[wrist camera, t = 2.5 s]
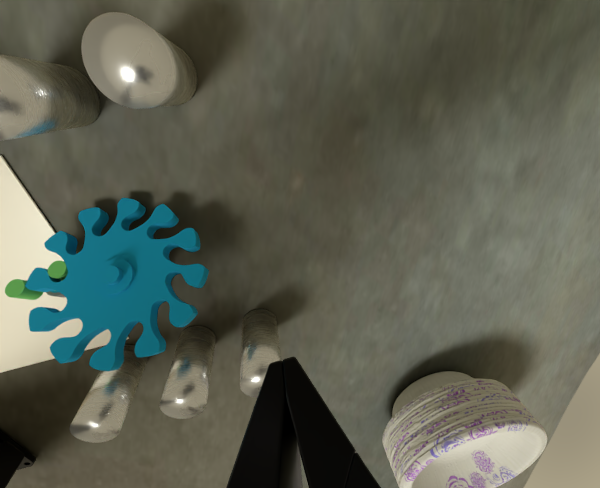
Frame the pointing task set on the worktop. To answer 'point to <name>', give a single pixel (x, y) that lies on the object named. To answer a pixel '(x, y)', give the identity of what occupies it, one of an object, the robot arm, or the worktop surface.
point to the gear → (113, 283)
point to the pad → (19, 265)
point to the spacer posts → (83, 111)
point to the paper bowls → (460, 433)
